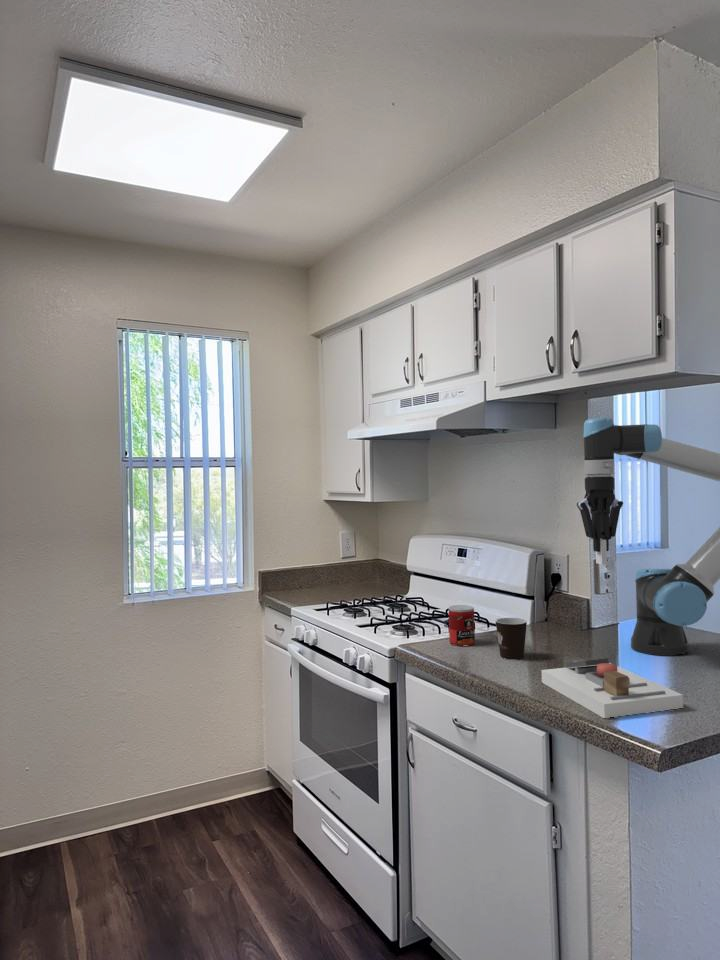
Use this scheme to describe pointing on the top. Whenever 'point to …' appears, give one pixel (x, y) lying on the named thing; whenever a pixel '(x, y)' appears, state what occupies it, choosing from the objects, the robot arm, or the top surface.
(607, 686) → the slider knob
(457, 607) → the canned food
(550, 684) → the panel
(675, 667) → the top surface
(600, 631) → the top surface
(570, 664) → the tall dark grey panel
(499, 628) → the coffee mug
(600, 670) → the red button
